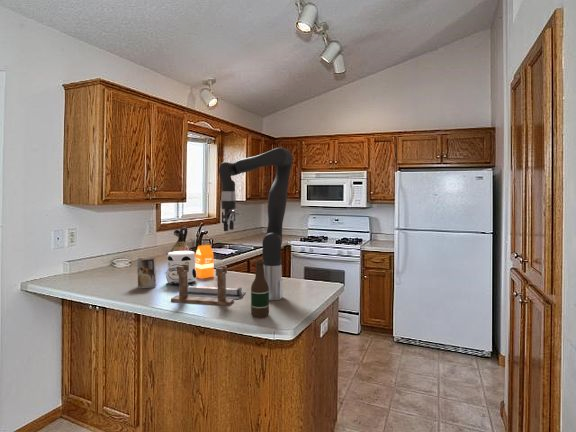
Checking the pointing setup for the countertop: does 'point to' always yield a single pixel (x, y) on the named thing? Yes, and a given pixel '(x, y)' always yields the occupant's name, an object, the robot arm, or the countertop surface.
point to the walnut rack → (202, 300)
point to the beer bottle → (259, 293)
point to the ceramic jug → (180, 240)
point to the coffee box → (146, 272)
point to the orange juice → (204, 261)
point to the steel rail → (214, 290)
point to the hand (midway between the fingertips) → (228, 230)
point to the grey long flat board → (214, 295)
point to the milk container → (177, 260)
